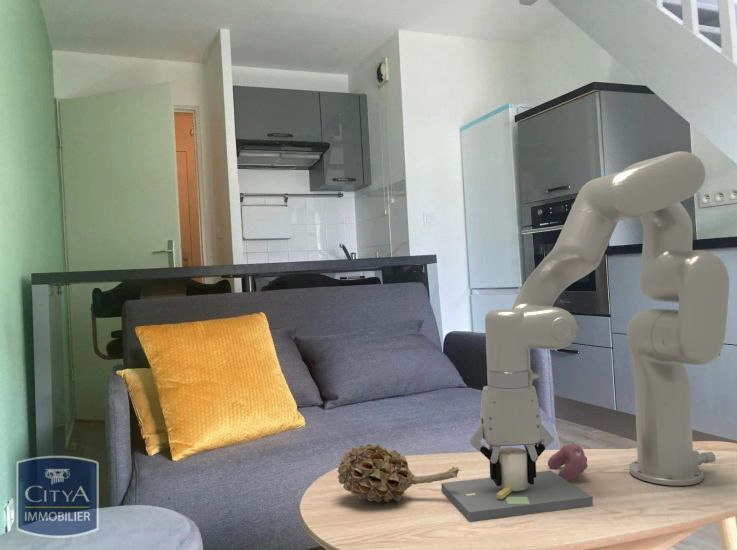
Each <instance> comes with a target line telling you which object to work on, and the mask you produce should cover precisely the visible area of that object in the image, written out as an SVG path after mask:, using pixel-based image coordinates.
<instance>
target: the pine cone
mask: <svg viewBox="0 0 737 550" xmlns="http://www.w3.org/2000/svg"><path fill="white" fill-rule="evenodd" d="M340 461H341V462H339V464H338V467H337V469H338V470H337V472H338V475H337V478H338V483H339V484H341V485H343V486H342V487H343V489H344V490H345V491H347V492H350V494H352V495H357V498H359V499H360V500H364V499H367V500H368V501H369V502H371V501H374V500H375V502H377V503H379V502H381V501H382V500H384V501H385V502H387V503H388V502H390V501H391V500H393V501H396V502H400V501H401V499H402V496H403V495H404V494H405V492H406V490H407V489H409V488H410V487H412V486H413V485H415V486H416V485H418V484H425V483H426V484H429V483H433V482H439V481H440V482H441V481H445V480H449V479H454V478H456V479H457V478H458V474H459V471H461V472H462V469H459V467H454V466H453V467H451V469H448V470H447V471H443V472H438V473H434V474H428V475H418V476H417V475H415V474H413V472H411V470H410V468H409V463H408V461H407V457H406V456H405V455H401V453H399V452H398V451H397V450H396V449H393V450H391V451H389V449H388V448H387V447H384V448H383V447H382V446H381V445H380V444H379V443H377V444H375V445H372V444H367V445H366V446H364V445H358V446H357V447H356V446H352V447H351V448H350V449H349V451H345V452H344V455H343V456H341V458H340Z"/></svg>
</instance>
